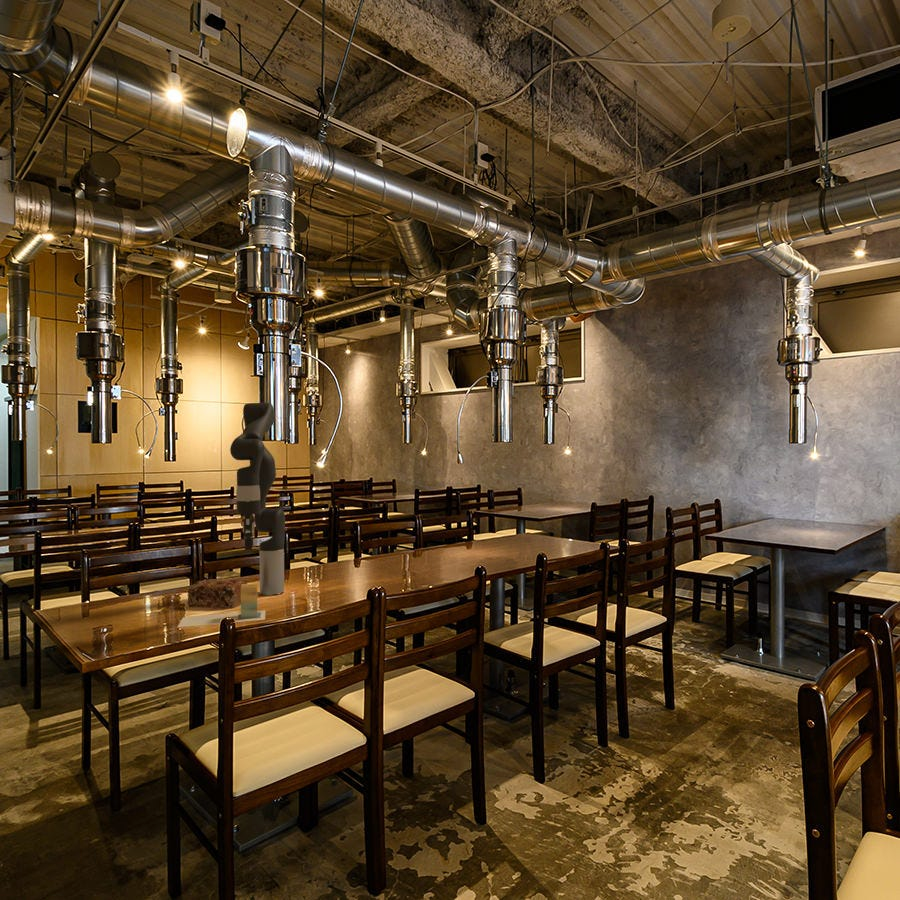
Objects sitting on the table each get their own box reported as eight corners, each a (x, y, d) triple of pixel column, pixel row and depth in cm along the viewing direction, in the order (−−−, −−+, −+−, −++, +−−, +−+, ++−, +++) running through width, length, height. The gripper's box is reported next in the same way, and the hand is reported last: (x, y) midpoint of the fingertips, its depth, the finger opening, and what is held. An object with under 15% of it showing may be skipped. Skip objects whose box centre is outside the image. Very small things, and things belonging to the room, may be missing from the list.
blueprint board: (183, 619, 191) (183, 617, 191) (265, 612, 198) (265, 610, 198) (177, 629, 179) (177, 626, 179) (264, 621, 187) (264, 619, 187)
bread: (249, 604, 211) (249, 576, 211) (232, 611, 201) (231, 583, 201) (205, 602, 216) (205, 575, 216) (186, 609, 205) (185, 581, 206)
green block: (241, 614, 193) (241, 599, 193) (257, 613, 194) (257, 598, 195) (240, 618, 188) (240, 603, 188) (257, 617, 190) (256, 601, 190)
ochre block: (241, 599, 193) (241, 584, 193) (257, 598, 195) (257, 583, 195) (240, 603, 188) (240, 587, 188) (257, 601, 190) (256, 586, 190)
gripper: (237, 498, 197) (238, 545, 197) (234, 501, 184) (235, 552, 184) (260, 497, 200) (261, 544, 199) (259, 500, 186) (260, 550, 186)
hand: (249, 547), depth 192 cm, fingers open, 8 cm apart
